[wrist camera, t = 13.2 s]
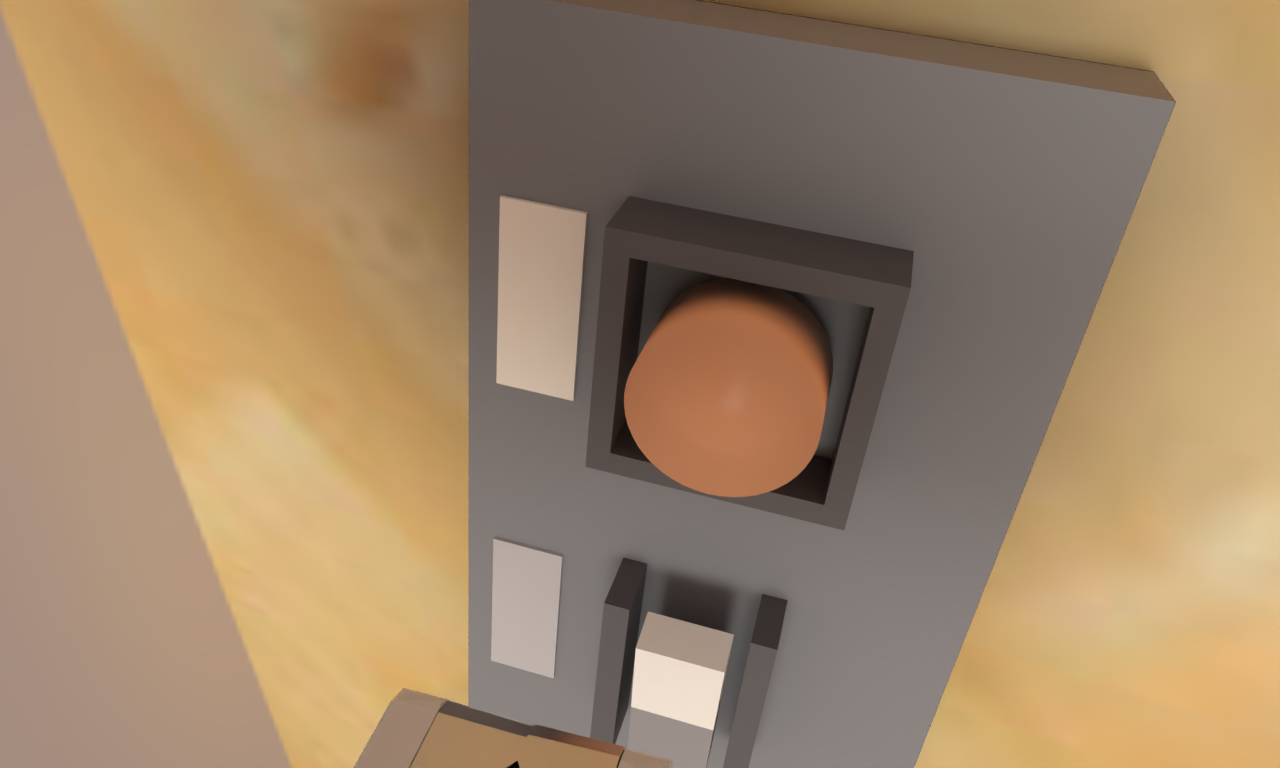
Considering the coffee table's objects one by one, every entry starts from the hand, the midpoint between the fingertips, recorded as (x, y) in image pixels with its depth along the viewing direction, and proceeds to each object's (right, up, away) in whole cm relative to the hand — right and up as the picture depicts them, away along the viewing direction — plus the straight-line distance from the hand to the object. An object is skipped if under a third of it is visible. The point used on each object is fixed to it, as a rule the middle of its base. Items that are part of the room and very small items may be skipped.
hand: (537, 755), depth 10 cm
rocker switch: (+2, -4, +13) cm, 13 cm away
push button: (+3, +4, +9) cm, 10 cm away
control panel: (+3, -2, +16) cm, 16 cm away
